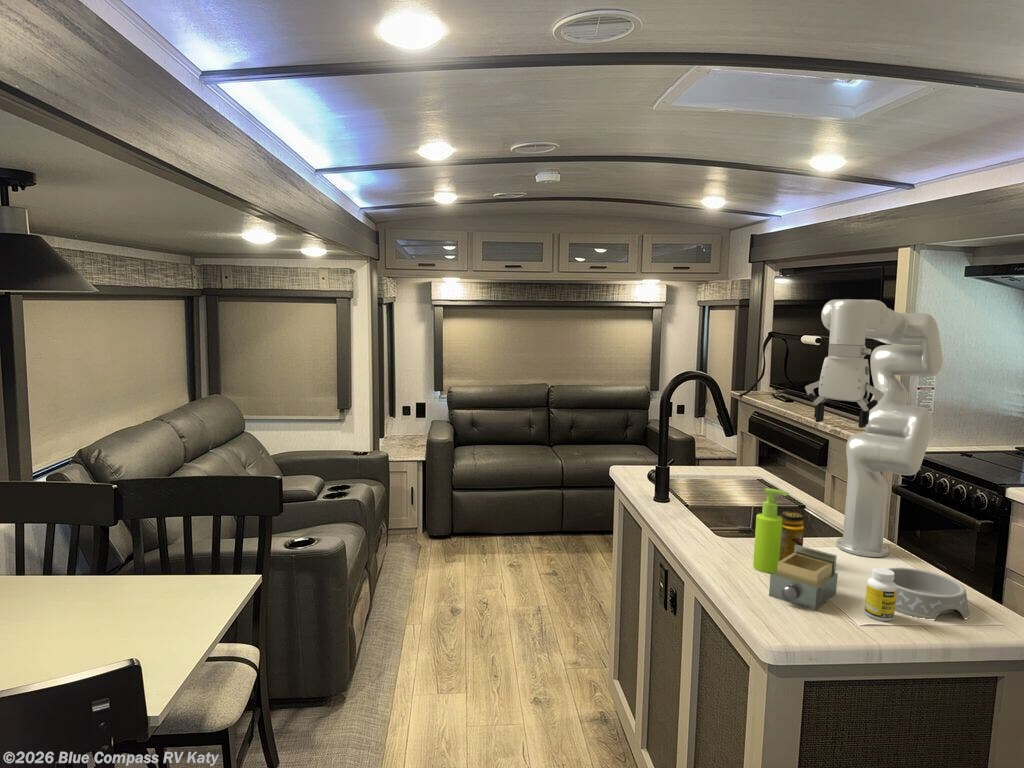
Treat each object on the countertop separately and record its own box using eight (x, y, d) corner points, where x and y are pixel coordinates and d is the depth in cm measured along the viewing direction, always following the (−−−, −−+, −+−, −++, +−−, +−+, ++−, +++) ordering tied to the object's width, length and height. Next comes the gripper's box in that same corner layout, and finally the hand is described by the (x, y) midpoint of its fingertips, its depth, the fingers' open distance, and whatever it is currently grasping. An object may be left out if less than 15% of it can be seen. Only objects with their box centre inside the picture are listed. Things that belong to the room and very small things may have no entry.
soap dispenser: (779, 576, 156) (785, 494, 154) (750, 568, 160) (755, 489, 158) (785, 568, 160) (791, 489, 158) (757, 561, 165) (762, 484, 162)
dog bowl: (855, 588, 150) (857, 566, 150) (928, 586, 153) (930, 564, 152) (909, 623, 134) (911, 598, 133) (989, 620, 136) (992, 596, 135)
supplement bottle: (882, 623, 133) (886, 577, 132) (858, 612, 138) (862, 567, 136) (900, 619, 135) (904, 573, 134) (876, 608, 140) (880, 564, 139)
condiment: (807, 565, 163) (811, 518, 162) (773, 563, 164) (776, 517, 162) (796, 554, 171) (800, 510, 169) (763, 553, 171) (766, 508, 170)
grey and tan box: (791, 580, 153) (794, 544, 152) (836, 594, 146) (839, 556, 145) (764, 598, 143) (767, 558, 142) (811, 613, 136) (814, 572, 135)
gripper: (892, 354, 149) (885, 427, 151) (814, 350, 161) (809, 418, 163) (881, 355, 144) (874, 431, 146) (802, 350, 156) (797, 421, 158)
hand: (840, 424), depth 155 cm, fingers open, 9 cm apart
